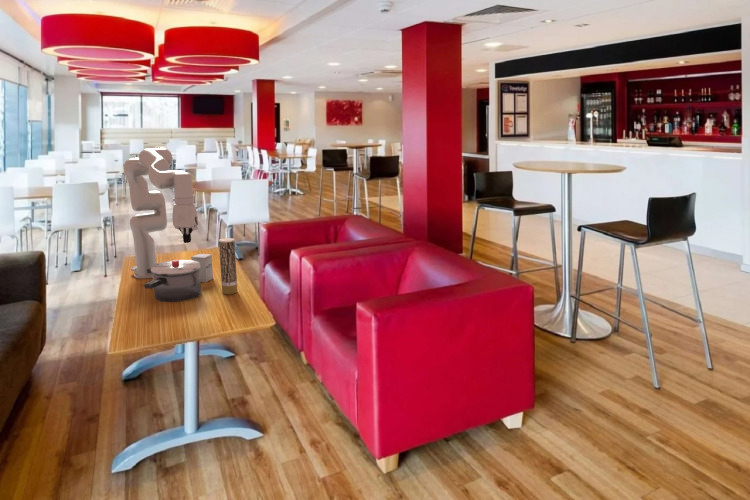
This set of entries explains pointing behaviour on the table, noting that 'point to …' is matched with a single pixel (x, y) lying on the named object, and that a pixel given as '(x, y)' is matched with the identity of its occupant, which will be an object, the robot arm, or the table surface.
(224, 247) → the brown cylindrical piece
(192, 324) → the table surface
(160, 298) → the pressure cooker pot
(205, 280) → the supplement box
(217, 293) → the table surface
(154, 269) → the cooker lid
